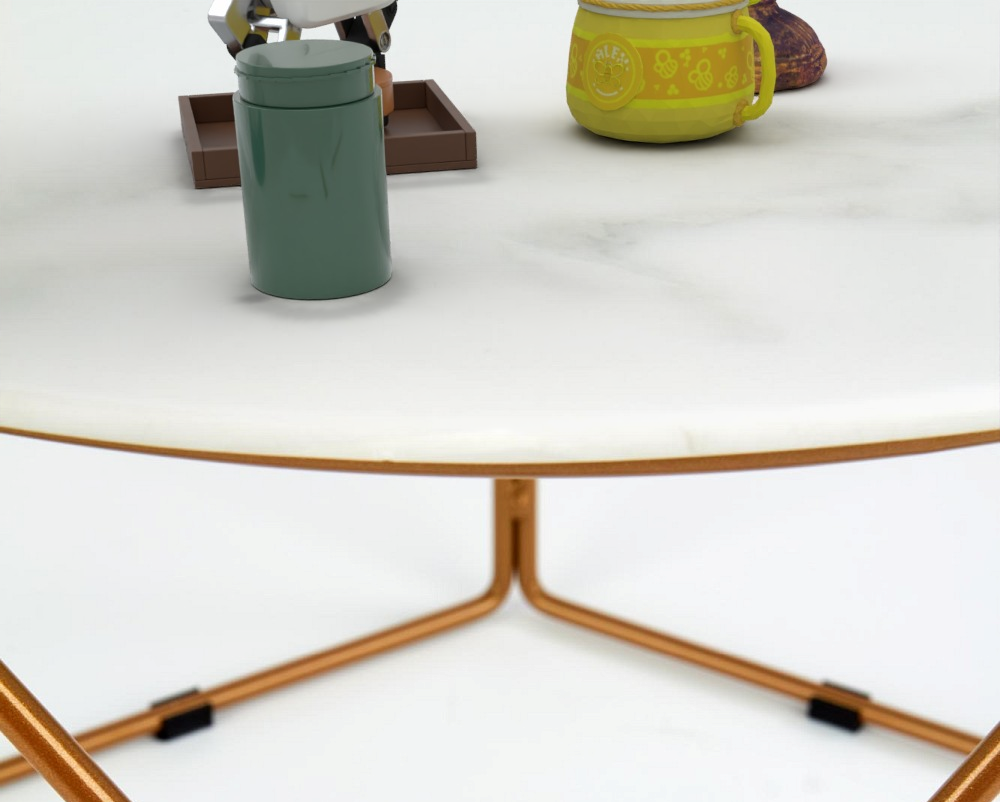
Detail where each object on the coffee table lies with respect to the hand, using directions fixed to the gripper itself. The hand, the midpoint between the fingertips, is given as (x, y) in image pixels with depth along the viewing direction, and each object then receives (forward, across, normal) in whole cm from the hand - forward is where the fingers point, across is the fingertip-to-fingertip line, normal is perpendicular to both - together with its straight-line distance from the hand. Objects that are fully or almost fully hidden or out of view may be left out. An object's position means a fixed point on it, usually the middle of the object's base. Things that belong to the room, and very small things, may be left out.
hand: (324, 136), depth 97 cm
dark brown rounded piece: (+1, +28, -12) cm, 30 cm away
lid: (-3, 0, -1) cm, 3 cm away
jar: (+1, -18, -14) cm, 23 cm away
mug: (+1, +13, -16) cm, 20 cm away
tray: (+1, 0, 0) cm, 1 cm away
